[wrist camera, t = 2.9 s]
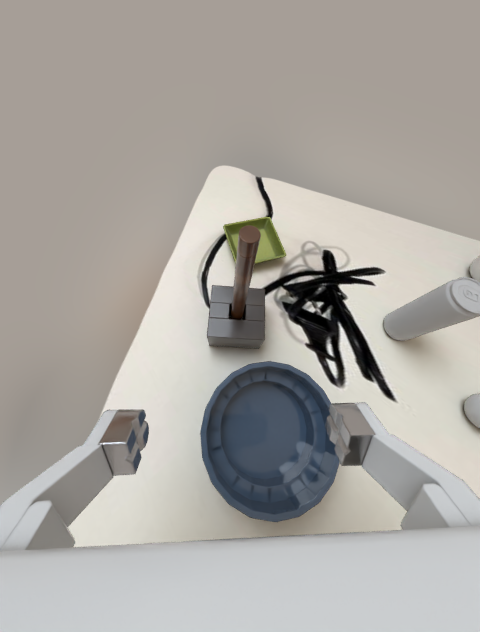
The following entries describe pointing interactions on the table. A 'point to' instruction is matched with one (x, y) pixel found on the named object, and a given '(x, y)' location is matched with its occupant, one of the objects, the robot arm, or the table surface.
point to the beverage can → (435, 310)
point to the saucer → (268, 241)
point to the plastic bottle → (475, 269)
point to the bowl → (269, 441)
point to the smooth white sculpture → (473, 409)
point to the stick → (244, 268)
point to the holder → (233, 330)
